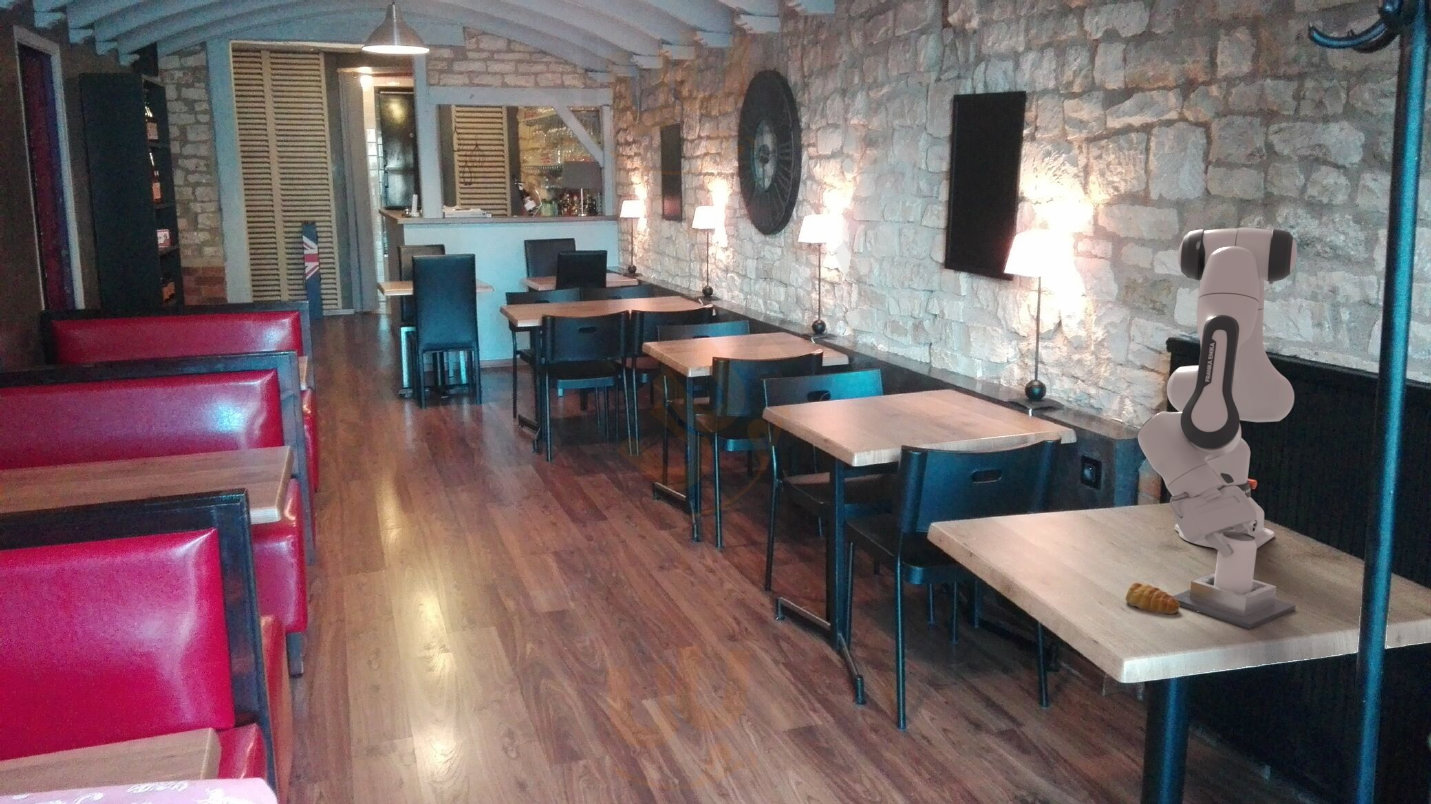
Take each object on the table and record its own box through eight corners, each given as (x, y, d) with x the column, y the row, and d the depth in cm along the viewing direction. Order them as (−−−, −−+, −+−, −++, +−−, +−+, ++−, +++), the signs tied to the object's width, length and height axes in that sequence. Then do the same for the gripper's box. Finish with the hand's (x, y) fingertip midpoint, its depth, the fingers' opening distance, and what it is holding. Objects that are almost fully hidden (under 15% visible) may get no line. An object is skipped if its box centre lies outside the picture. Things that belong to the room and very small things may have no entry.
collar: (1214, 585, 223) (1217, 563, 222) (1294, 610, 211) (1297, 587, 210) (1168, 602, 214) (1170, 580, 213) (1249, 629, 201) (1252, 606, 200)
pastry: (1185, 610, 211) (1187, 591, 210) (1169, 620, 206) (1171, 600, 206) (1137, 596, 218) (1139, 577, 217) (1121, 605, 213) (1122, 586, 212)
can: (1254, 604, 208) (1262, 542, 206) (1217, 600, 209) (1224, 539, 207) (1245, 592, 214) (1252, 532, 212) (1209, 589, 216) (1216, 529, 213)
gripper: (1178, 489, 207) (1222, 554, 201) (1237, 473, 219) (1281, 533, 213) (1154, 506, 212) (1197, 570, 206) (1213, 490, 224) (1255, 549, 218)
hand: (1240, 551), depth 210 cm, fingers closed on can, 6 cm apart
